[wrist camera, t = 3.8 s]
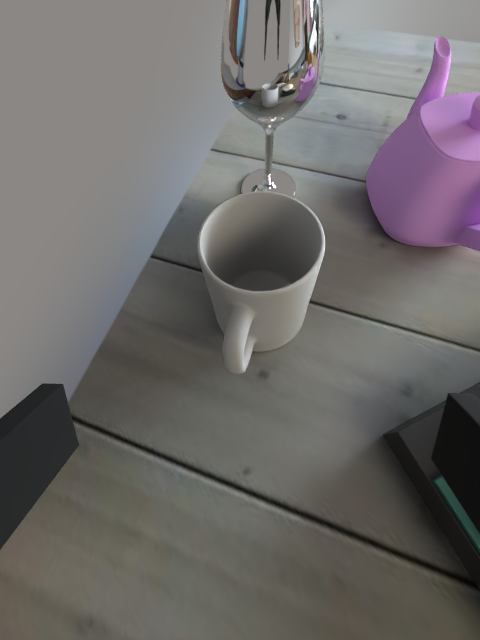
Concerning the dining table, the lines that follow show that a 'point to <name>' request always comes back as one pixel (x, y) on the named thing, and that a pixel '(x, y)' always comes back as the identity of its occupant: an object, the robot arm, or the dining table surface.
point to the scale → (436, 482)
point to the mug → (259, 270)
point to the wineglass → (271, 70)
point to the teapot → (431, 167)
